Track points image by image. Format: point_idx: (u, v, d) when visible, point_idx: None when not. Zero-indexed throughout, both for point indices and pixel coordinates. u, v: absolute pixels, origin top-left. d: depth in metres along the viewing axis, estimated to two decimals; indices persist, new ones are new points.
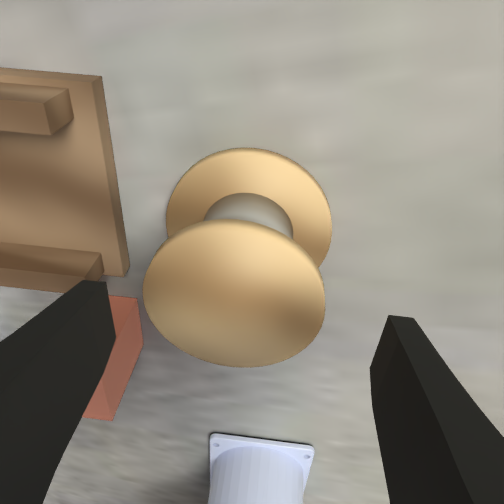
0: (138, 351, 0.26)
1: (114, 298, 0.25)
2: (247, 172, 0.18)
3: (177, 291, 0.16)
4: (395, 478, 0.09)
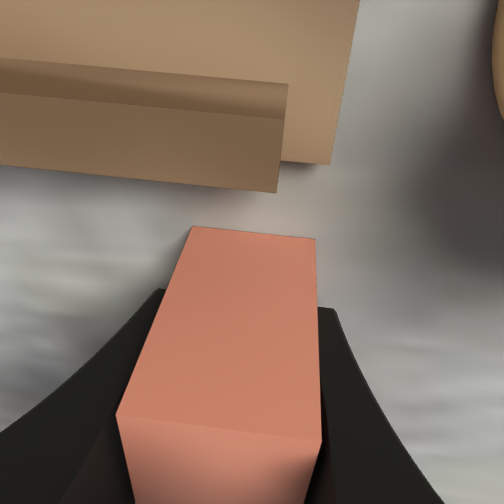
0: None
1: (264, 238, 0.11)
2: None
3: None
4: None
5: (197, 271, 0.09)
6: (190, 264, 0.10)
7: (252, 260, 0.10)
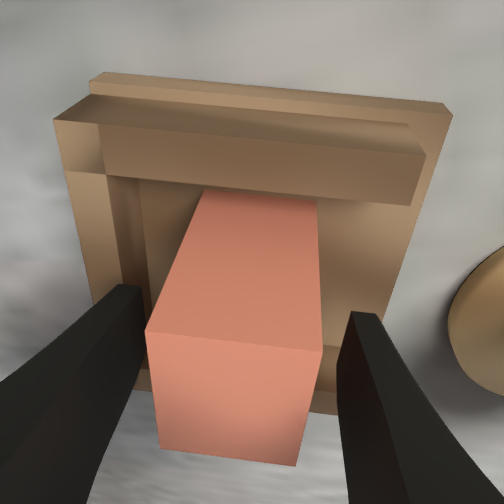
0: None
1: (269, 199, 0.12)
2: None
3: None
4: (352, 472, 0.09)
5: (209, 225, 0.10)
6: (203, 219, 0.11)
7: (259, 216, 0.11)
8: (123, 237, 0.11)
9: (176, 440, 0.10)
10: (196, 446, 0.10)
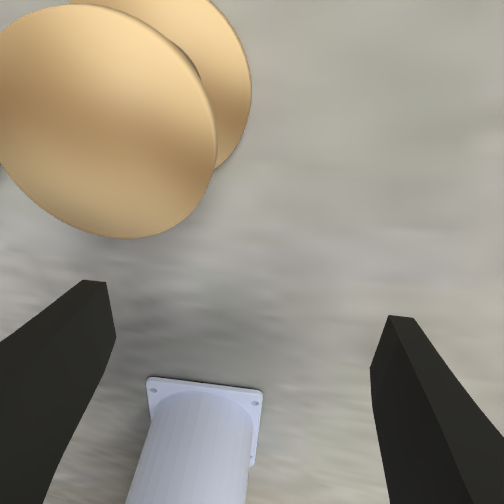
0: None
1: None
2: None
3: (24, 116, 0.12)
4: (395, 478, 0.09)
5: None
6: None
7: None
8: None
9: None
10: None
